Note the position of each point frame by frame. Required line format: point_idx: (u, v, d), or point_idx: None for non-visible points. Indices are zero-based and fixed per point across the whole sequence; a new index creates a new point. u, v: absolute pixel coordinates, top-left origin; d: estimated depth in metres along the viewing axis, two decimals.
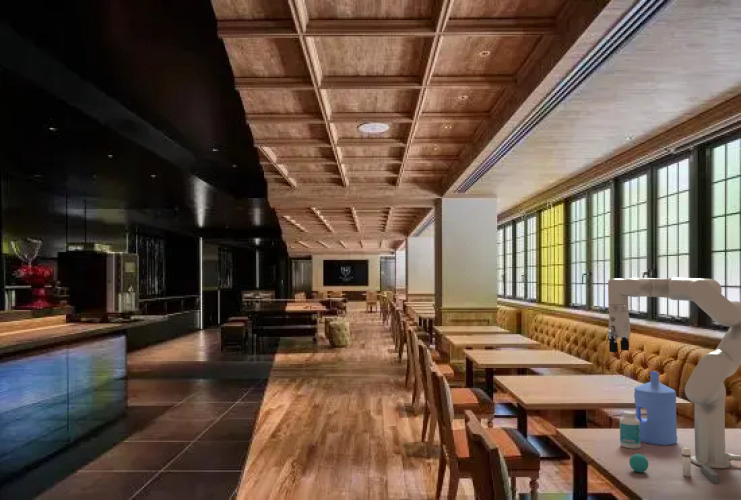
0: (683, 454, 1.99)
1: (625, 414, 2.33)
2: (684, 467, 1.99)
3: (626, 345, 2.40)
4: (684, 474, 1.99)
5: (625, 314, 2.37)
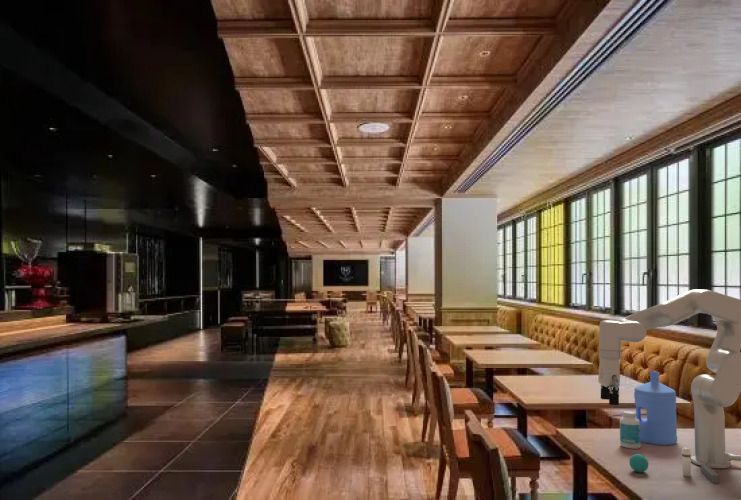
0: (683, 454, 1.99)
1: (625, 414, 2.33)
2: (684, 467, 1.99)
3: None
4: (684, 474, 1.99)
5: (602, 360, 2.14)
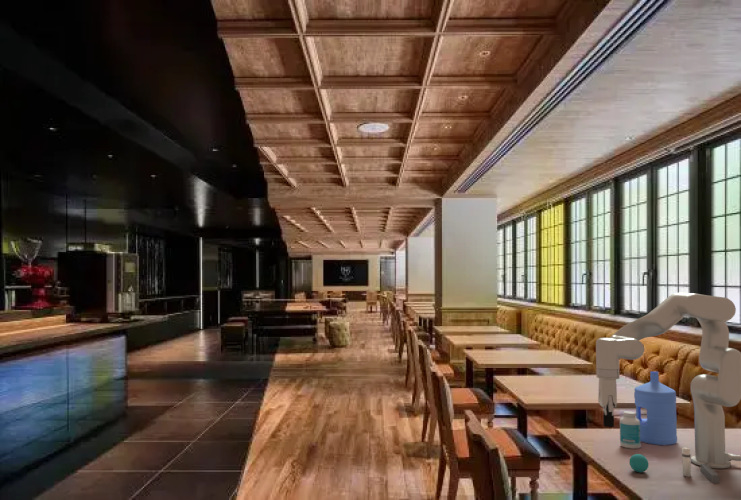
0: (683, 454, 1.99)
1: (625, 414, 2.33)
2: (684, 467, 1.99)
3: None
4: (684, 474, 1.99)
5: (599, 379, 2.07)
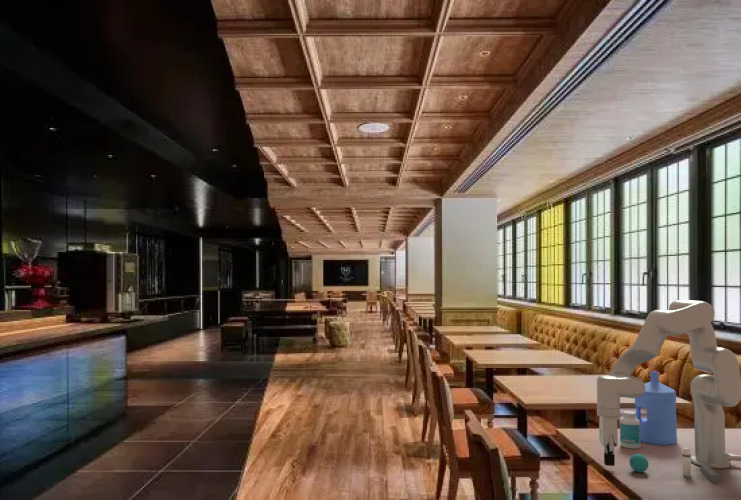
0: (683, 454, 1.99)
1: (625, 414, 2.33)
2: (684, 467, 1.99)
3: None
4: (684, 474, 1.99)
5: (600, 417, 2.06)
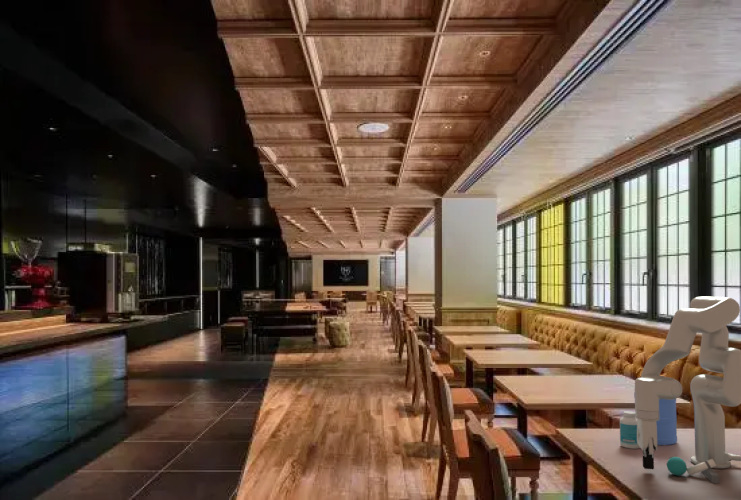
0: (707, 462, 1.97)
1: (625, 414, 2.33)
2: (695, 467, 1.98)
3: None
4: (688, 470, 1.98)
5: (639, 420, 2.03)
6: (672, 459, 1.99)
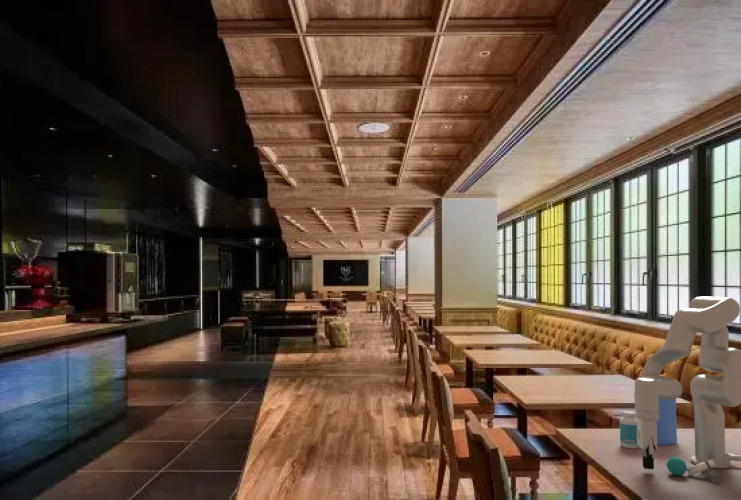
0: (707, 462, 1.97)
1: (625, 414, 2.33)
2: (695, 467, 1.98)
3: None
4: (688, 470, 1.98)
5: (639, 420, 2.03)
6: (672, 459, 1.99)
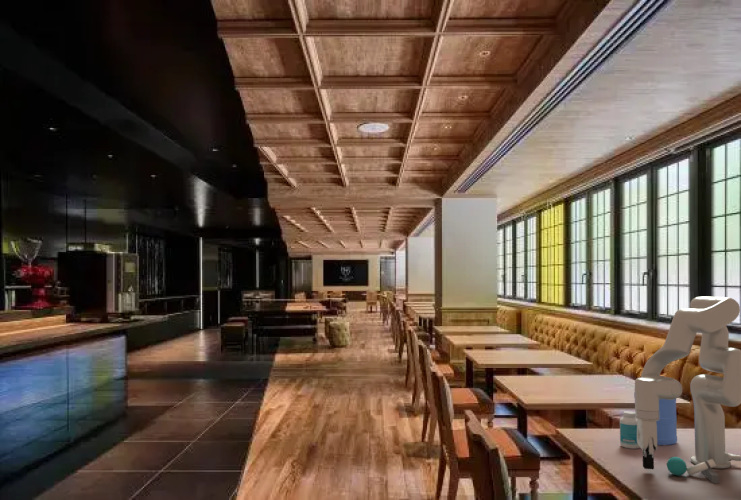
0: (707, 462, 1.97)
1: (625, 414, 2.33)
2: (695, 467, 1.98)
3: None
4: (688, 470, 1.98)
5: (639, 420, 2.03)
6: (672, 459, 1.99)
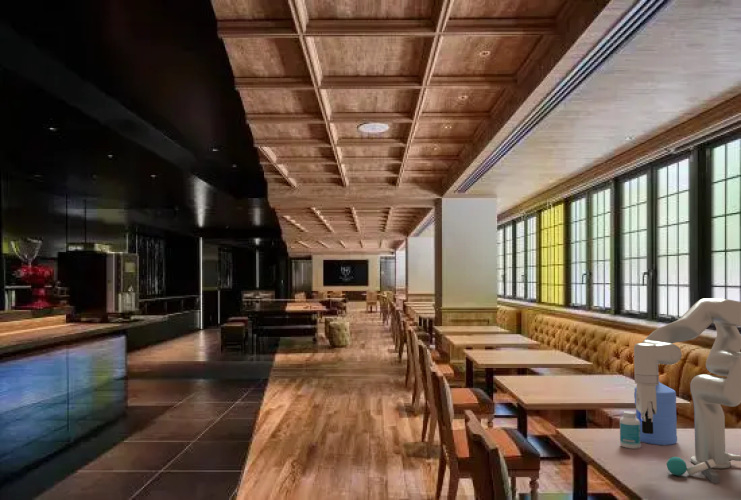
0: (707, 462, 1.97)
1: (625, 414, 2.33)
2: (695, 467, 1.98)
3: None
4: (688, 470, 1.98)
5: (638, 385, 2.04)
6: (672, 459, 1.99)
